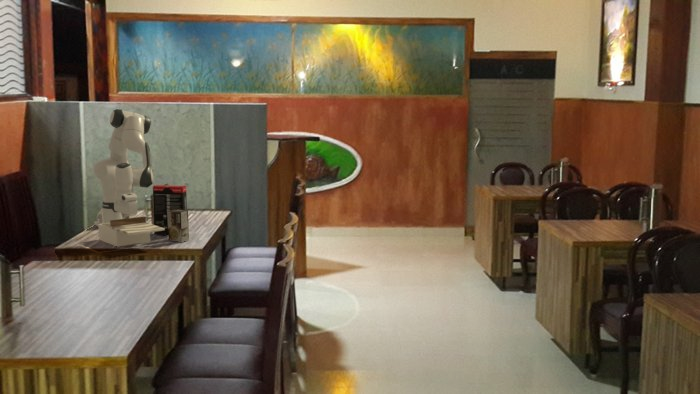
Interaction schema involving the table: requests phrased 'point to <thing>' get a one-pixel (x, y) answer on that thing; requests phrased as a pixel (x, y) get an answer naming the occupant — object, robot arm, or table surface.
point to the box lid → (134, 226)
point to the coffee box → (178, 225)
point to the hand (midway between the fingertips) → (125, 222)
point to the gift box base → (120, 236)
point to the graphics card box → (167, 204)
